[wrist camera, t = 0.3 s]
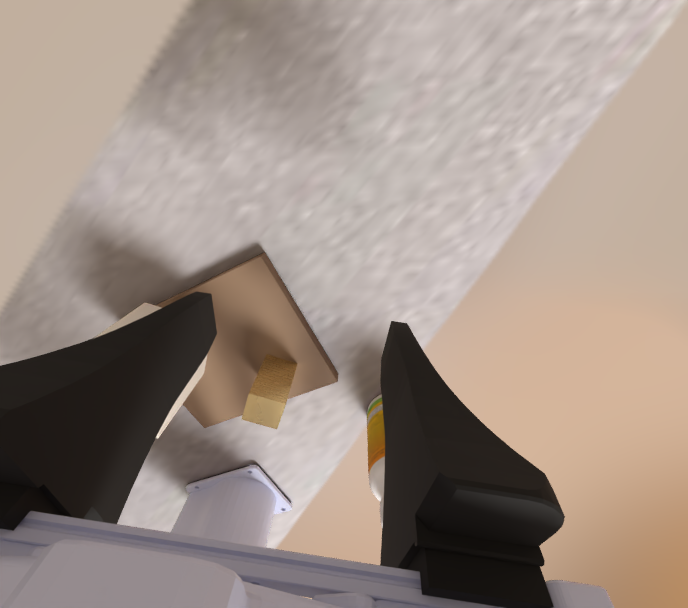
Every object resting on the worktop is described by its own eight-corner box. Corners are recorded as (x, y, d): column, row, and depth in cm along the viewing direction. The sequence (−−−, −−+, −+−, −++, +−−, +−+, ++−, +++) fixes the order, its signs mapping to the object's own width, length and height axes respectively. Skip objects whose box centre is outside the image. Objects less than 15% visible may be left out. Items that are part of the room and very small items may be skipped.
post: (289, 386, 26) (276, 429, 22) (259, 377, 26) (241, 419, 22) (297, 363, 25) (285, 404, 21) (266, 354, 25) (248, 393, 21)
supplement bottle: (368, 432, 30) (371, 548, 21) (365, 389, 27) (368, 500, 19) (424, 431, 29) (452, 549, 20) (426, 387, 27) (459, 500, 18)
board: (209, 419, 30) (204, 428, 29) (121, 321, 25) (112, 327, 24) (338, 374, 27) (337, 381, 26) (264, 252, 22) (260, 256, 21)
